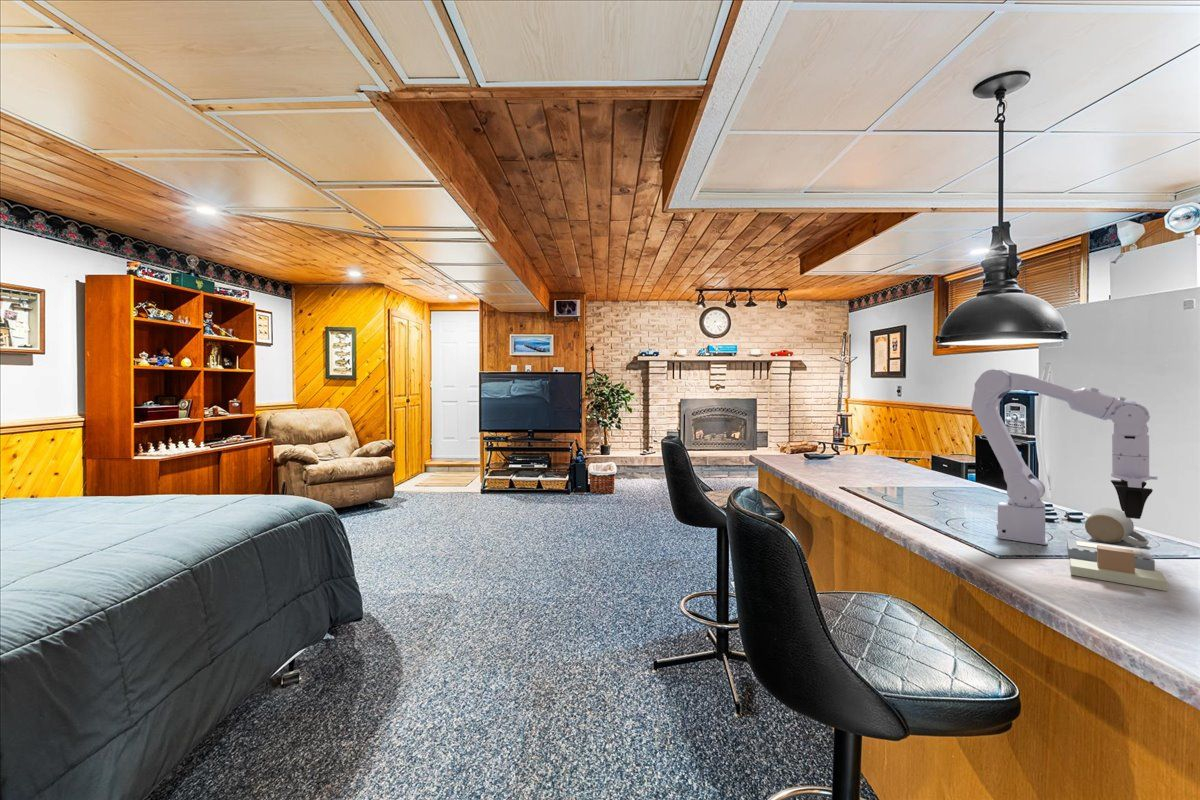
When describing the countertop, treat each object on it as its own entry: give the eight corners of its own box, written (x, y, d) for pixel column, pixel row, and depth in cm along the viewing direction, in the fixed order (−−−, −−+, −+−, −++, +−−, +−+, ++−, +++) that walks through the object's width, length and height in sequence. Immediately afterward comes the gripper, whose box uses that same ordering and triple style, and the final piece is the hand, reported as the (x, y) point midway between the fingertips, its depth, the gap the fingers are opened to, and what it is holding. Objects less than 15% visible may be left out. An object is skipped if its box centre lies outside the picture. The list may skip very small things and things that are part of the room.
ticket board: (1068, 557, 111) (1068, 547, 111) (1067, 546, 118) (1067, 537, 118) (1154, 570, 102) (1154, 560, 102) (1147, 558, 110) (1147, 548, 110)
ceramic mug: (1082, 539, 124) (1083, 509, 124) (1091, 534, 128) (1092, 505, 128) (1144, 551, 115) (1145, 518, 115) (1151, 544, 120) (1152, 513, 119)
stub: (1071, 574, 100) (1070, 546, 100) (1070, 566, 105) (1069, 539, 105) (1167, 590, 92) (1167, 560, 92) (1161, 581, 96) (1161, 552, 96)
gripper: (1162, 459, 103) (1163, 524, 103) (1151, 453, 114) (1152, 511, 114) (1114, 457, 108) (1114, 518, 108) (1108, 451, 119) (1108, 507, 119)
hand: (1130, 514), depth 111 cm, fingers open, 7 cm apart
